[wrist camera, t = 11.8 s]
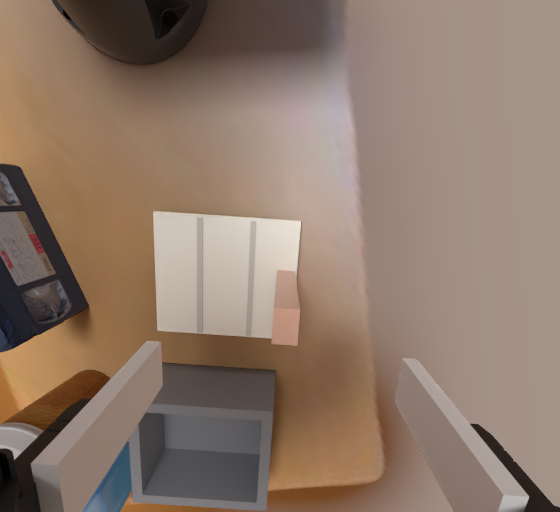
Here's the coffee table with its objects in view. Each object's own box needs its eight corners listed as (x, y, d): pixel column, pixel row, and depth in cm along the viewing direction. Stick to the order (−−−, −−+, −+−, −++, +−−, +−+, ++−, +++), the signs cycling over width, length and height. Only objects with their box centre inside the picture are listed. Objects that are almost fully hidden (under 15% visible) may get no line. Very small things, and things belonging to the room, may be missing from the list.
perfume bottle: (99, 479, 39) (21, 597, 28) (87, 445, 38) (0, 554, 26) (139, 475, 39) (76, 593, 27) (128, 441, 38) (59, 549, 26)
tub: (157, 362, 35) (126, 401, 28) (275, 370, 35) (273, 411, 28) (159, 447, 38) (132, 502, 31) (269, 455, 38) (266, 511, 31)
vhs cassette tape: (91, 307, 34) (13, 350, 24) (70, 313, 34) (-16, 358, 24) (24, 164, 30) (-100, 146, 20) (1, 171, 30) (-133, 157, 20)
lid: (161, 210, 31) (76, 217, 18) (299, 219, 31) (311, 233, 18) (164, 323, 34) (93, 396, 21) (290, 331, 34) (295, 409, 21)
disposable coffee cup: (81, 427, 37) (-12, 530, 26) (46, 372, 36) (-71, 456, 24) (139, 407, 37) (71, 504, 25) (106, 349, 35) (16, 426, 23)
